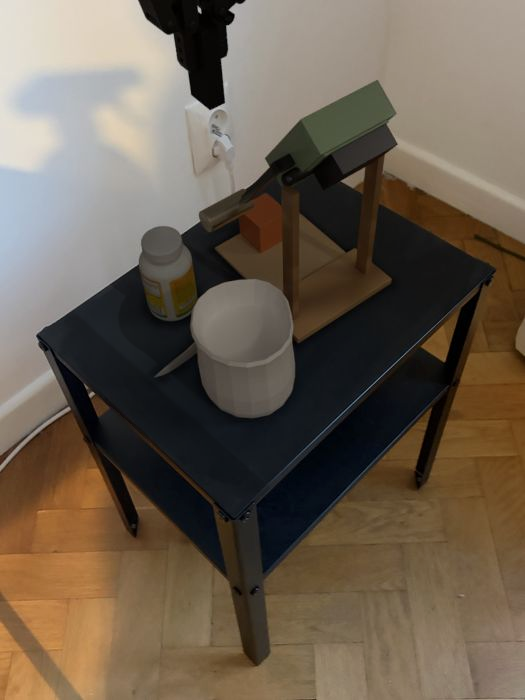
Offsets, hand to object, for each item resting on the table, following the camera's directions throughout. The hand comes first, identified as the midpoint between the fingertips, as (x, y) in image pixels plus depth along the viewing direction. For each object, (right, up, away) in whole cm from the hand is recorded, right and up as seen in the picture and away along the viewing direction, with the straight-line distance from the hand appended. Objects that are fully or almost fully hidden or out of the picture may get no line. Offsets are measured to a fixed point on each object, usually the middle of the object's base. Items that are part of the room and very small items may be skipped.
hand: (207, 98), depth 58 cm
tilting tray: (+9, -7, +7) cm, 13 cm away
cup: (+3, -23, +14) cm, 27 cm away
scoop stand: (+11, -14, +20) cm, 27 cm away
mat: (+6, -9, +24) cm, 26 cm away
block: (+3, -5, +24) cm, 25 cm away
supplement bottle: (-5, -15, +20) cm, 26 cm away
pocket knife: (-1, -20, +17) cm, 26 cm away
